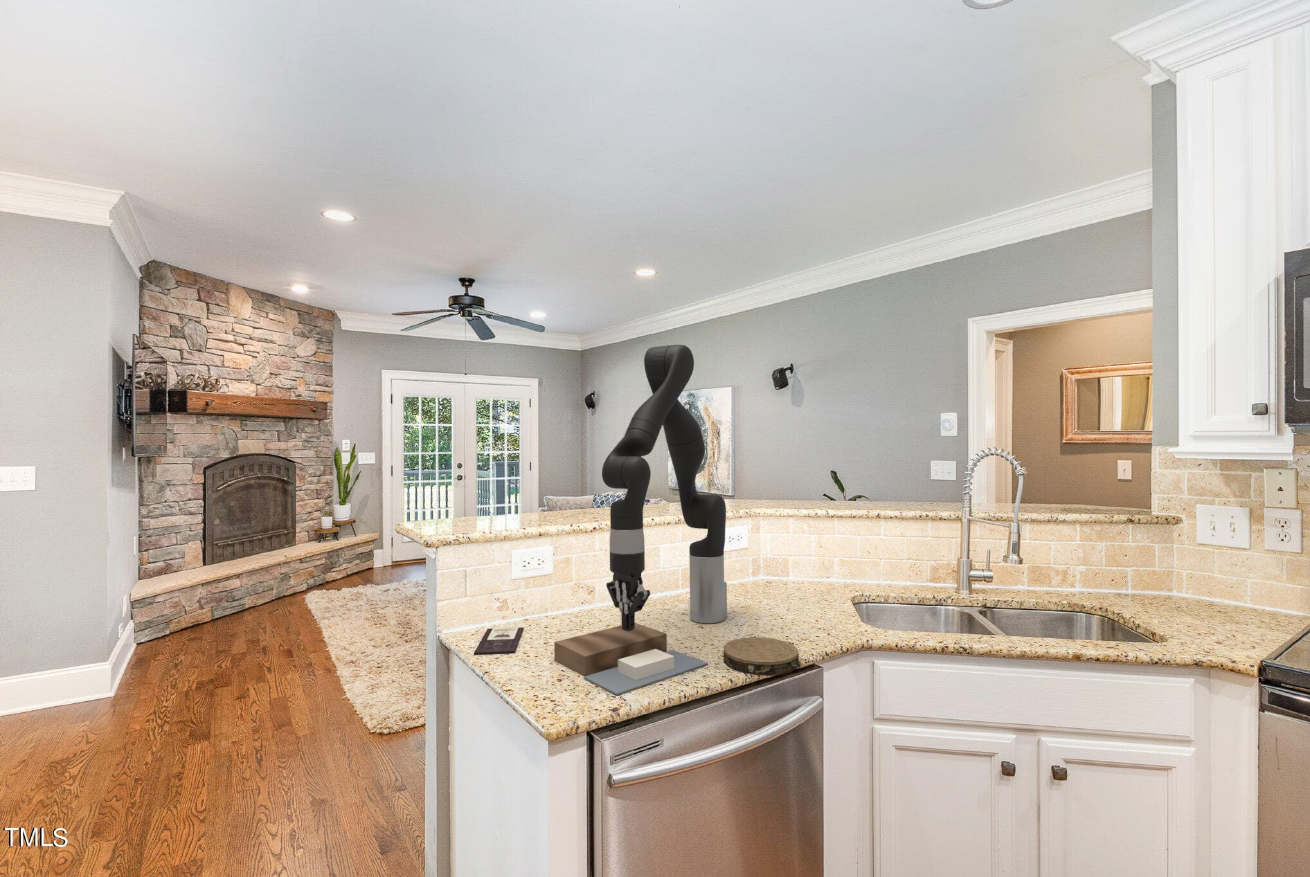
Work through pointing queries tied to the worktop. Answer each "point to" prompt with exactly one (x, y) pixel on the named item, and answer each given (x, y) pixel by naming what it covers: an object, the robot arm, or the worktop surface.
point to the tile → (645, 664)
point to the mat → (623, 684)
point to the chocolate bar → (499, 641)
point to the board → (607, 648)
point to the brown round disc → (761, 656)
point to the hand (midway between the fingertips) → (628, 629)
